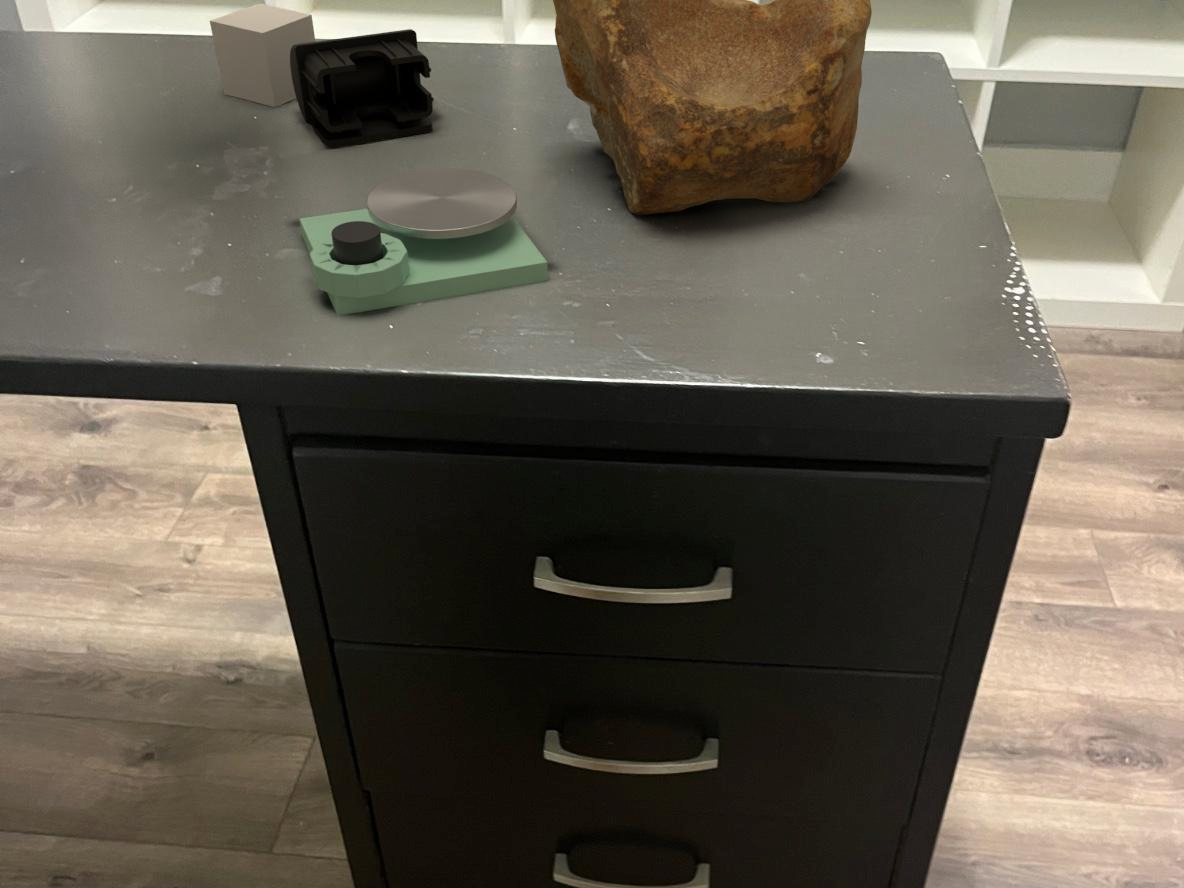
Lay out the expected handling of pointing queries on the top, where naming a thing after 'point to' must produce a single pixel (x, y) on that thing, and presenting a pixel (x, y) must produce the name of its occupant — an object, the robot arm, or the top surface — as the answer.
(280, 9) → the beige cube
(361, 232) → the tare button
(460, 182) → the weighing pan
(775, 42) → the rough brown rock
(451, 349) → the top surface
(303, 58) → the end cap
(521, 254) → the scale
